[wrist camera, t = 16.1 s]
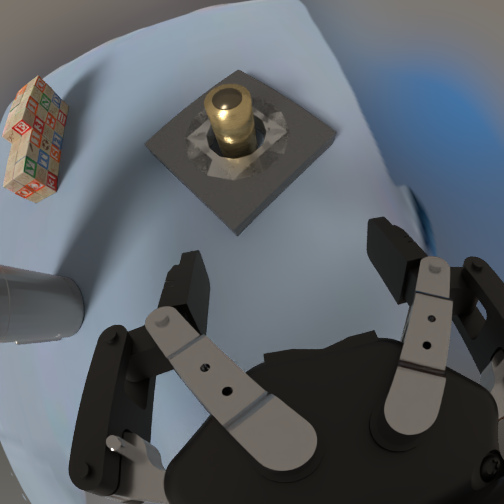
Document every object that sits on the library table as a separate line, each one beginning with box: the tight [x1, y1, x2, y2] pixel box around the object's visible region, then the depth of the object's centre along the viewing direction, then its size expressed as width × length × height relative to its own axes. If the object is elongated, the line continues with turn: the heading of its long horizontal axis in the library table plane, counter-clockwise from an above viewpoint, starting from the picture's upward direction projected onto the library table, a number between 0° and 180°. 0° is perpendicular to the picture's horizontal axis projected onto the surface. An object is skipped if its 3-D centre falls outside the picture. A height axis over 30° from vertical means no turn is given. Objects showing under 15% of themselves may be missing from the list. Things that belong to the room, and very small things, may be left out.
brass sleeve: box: [204, 84, 257, 159], centre depth 30 cm, size 5×5×10 cm
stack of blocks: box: [2, 76, 69, 203], centre depth 34 cm, size 21×6×12 cm, turn 14°
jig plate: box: [145, 70, 336, 236], centre depth 34 cm, size 18×18×3 cm
